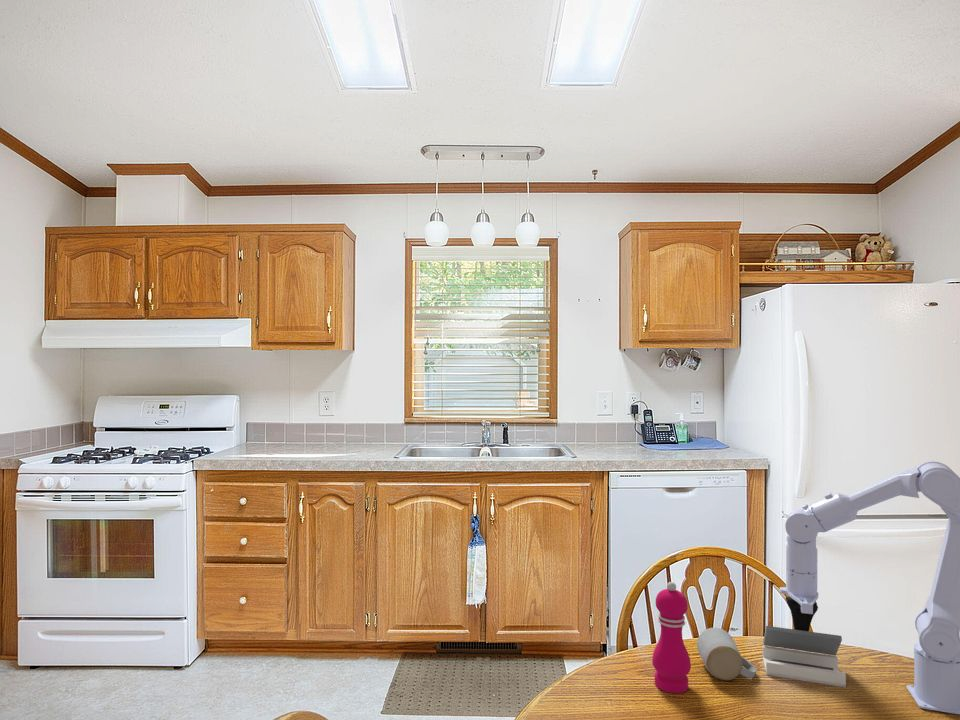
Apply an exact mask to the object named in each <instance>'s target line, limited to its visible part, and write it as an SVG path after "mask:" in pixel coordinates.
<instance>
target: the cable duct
mask: <svg viewBox="0 0 960 720" xmlns="http://www.w3.org/2000/svg"><path fill="white" fill-rule="evenodd" d="M762 661H763V664H764V670H765V673H766V674H765V675H766V676H772V677H779V678H784V679H785V678H786V679H792V680H798V681H803V682H810V683H817V684H823V685H827V686H835V687H841V688H847V674H846V672H845V671H840V670H839V659H838V656H837V655H836V656H835V655H828V654H821V653H814V652H807V651H800V650H793V649H786V648H780V647H773V646H766V645H762Z"/></svg>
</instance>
